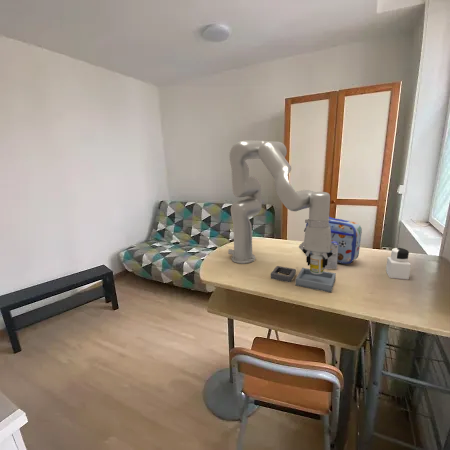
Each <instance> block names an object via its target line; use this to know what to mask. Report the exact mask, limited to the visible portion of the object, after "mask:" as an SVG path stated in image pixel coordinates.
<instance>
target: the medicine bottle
mask: <svg viewBox="0 0 450 450" xmlns="http://www.w3.org/2000/svg"><path fill="white" fill-rule="evenodd" d="M409 253H410V252H409V250H408V249H406V248H403V247H395V248H392V249H391V253H390V256H387V258H386V259H387V260H386V267H385V272H386V274H387V276H388V277H389V278H390V279H399V280H409V279H410V274H411V268H412V263H410V261H409Z"/></svg>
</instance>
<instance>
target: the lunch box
mask: <svg viewBox="0 0 450 450" xmlns="http://www.w3.org/2000/svg"><path fill="white" fill-rule="evenodd" d="M307 226H308V223H305V228H304V230H303V232H304V233H305V231H306V227H307ZM329 227H330V229H331V241H336V242H337V243H338V258H337V263H340V264H345V265H346V264H348V265H349V264H351V263H352V262H353V261H355V260H357V259H358V258H359V254H360V249H361V239H362V233H363V230H362V229H363V228H362V227H361V225H360V224H359V223H357V222H355V221H351V220H346V219H341V218H334V217H331V216H329ZM310 254H312V251H311V252H310Z"/></svg>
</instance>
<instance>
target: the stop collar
mask: <svg viewBox="0 0 450 450" xmlns="http://www.w3.org/2000/svg"><path fill="white" fill-rule="evenodd" d="M296 275H297V268H291V267H286V266H285V267H284V266H279V265H277V266H275V268H274V269H273V270H272V271H271V272H270V277H269V278H270V280H275V281H279V282H280V281H281V282H284V283H285V282H286V283H292V281H293V279H294V278H295V277H296Z"/></svg>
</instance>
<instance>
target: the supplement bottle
mask: <svg viewBox="0 0 450 450" xmlns="http://www.w3.org/2000/svg"><path fill="white" fill-rule="evenodd" d="M323 259H324V256H323V255H322V253H321V252H313V251H312V254H311V255H310V265H309V269H310V272H311V273H313V274H322V273H323V271H324V270H325V269H324V268H323Z"/></svg>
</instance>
